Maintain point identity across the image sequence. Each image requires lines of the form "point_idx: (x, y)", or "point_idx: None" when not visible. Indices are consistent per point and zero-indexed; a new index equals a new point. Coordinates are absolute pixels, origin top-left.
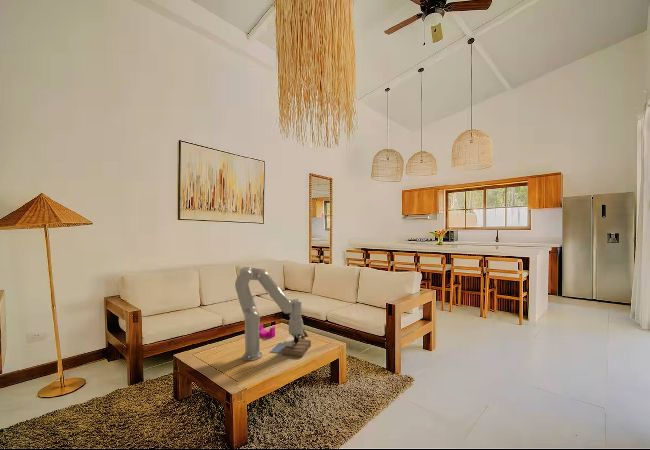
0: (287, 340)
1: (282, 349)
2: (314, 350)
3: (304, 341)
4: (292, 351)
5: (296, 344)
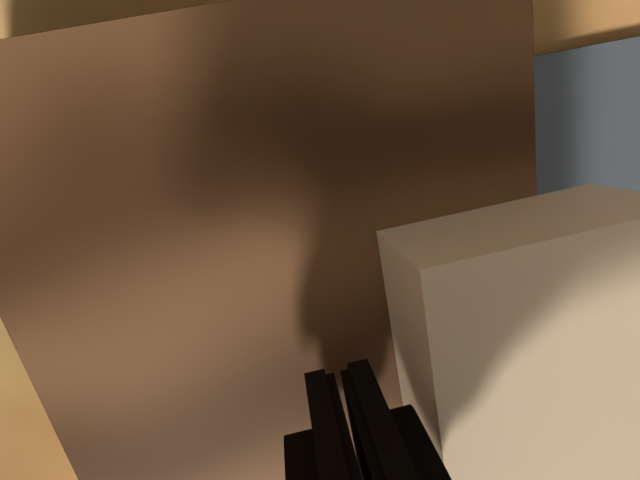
0: (619, 328)
1: None
2: (11, 450)
3: None
4: (220, 15)
5: None
